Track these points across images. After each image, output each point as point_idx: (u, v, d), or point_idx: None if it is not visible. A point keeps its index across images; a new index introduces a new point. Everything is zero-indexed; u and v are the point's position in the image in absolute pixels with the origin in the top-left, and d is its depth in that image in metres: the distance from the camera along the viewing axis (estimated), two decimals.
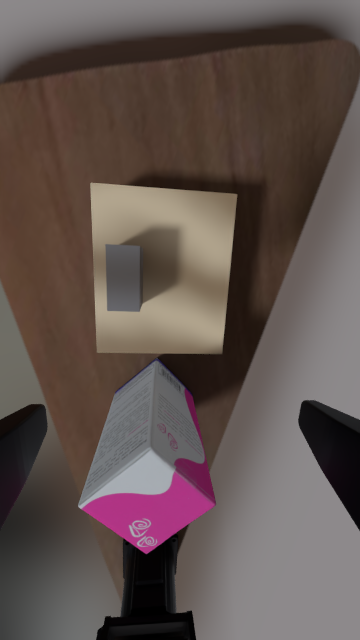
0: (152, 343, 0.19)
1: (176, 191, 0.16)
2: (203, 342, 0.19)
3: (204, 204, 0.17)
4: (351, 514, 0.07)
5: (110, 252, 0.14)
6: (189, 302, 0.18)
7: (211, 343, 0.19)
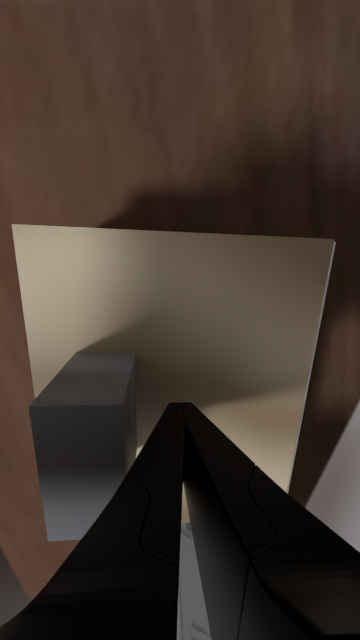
0: None
1: (205, 237, 0.07)
2: None
3: (264, 262, 0.08)
4: (191, 524, 0.06)
5: (44, 424, 0.05)
6: None
7: None
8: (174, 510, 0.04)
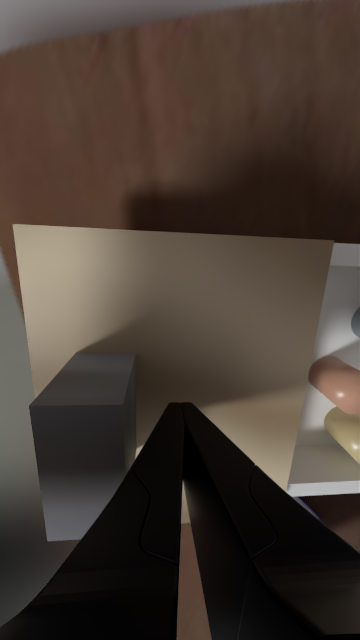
0: None
1: (206, 238, 0.07)
2: None
3: (264, 263, 0.08)
4: (191, 524, 0.06)
5: (44, 423, 0.05)
6: None
7: None
8: (174, 510, 0.04)
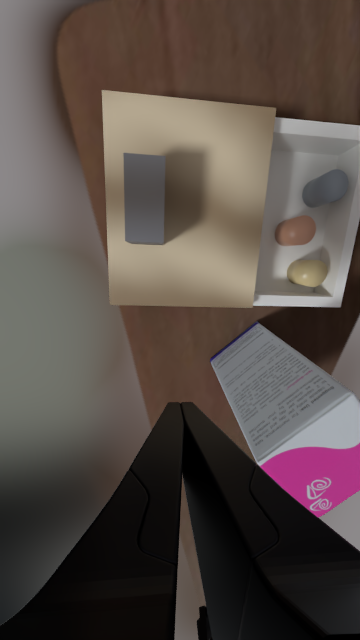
0: (174, 293, 0.16)
1: (204, 103, 0.14)
2: (231, 293, 0.17)
3: (237, 120, 0.14)
4: (192, 524, 0.06)
5: (129, 164, 0.11)
6: (216, 244, 0.16)
7: (240, 294, 0.17)
8: (173, 510, 0.04)
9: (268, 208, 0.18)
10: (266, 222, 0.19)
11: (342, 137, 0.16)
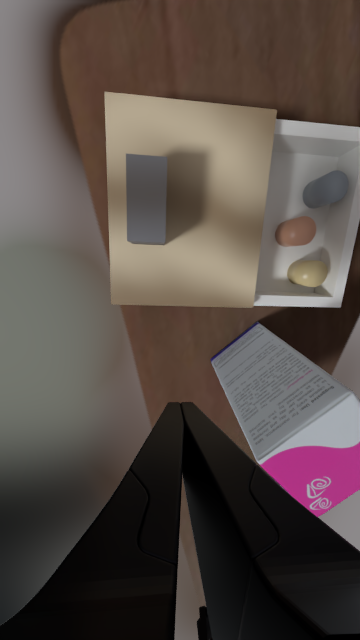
0: (175, 293, 0.16)
1: (205, 105, 0.14)
2: (232, 293, 0.17)
3: (238, 122, 0.14)
4: (192, 524, 0.06)
5: (131, 164, 0.12)
6: (217, 244, 0.16)
7: (241, 294, 0.17)
8: (173, 510, 0.04)
9: (269, 209, 0.19)
10: (267, 223, 0.19)
11: (342, 139, 0.16)
